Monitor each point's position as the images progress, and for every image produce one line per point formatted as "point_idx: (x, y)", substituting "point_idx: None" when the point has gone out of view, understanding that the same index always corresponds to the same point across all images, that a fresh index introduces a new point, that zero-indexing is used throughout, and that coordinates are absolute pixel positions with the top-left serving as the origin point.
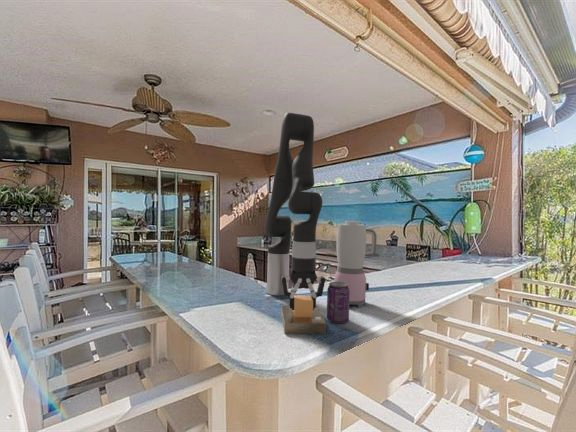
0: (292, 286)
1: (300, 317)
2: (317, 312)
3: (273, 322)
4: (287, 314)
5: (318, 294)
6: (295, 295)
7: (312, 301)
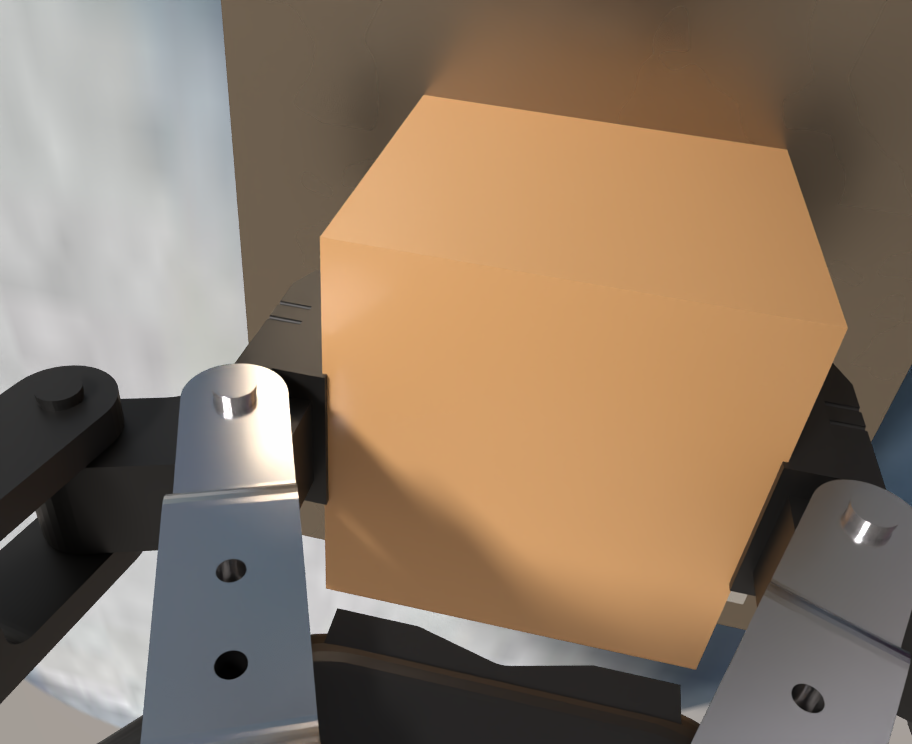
0: (163, 538)
1: None
2: (897, 272)
3: (165, 104)
4: (311, 271)
5: (909, 723)
6: (390, 266)
7: (680, 656)
